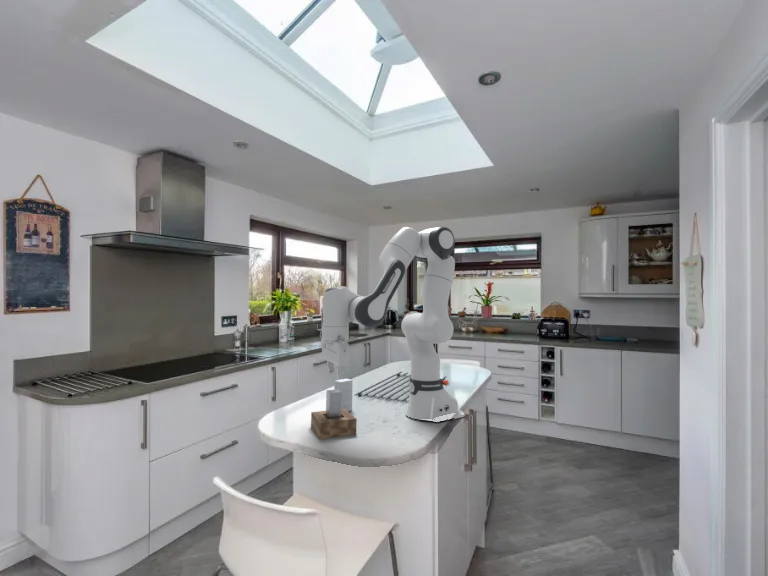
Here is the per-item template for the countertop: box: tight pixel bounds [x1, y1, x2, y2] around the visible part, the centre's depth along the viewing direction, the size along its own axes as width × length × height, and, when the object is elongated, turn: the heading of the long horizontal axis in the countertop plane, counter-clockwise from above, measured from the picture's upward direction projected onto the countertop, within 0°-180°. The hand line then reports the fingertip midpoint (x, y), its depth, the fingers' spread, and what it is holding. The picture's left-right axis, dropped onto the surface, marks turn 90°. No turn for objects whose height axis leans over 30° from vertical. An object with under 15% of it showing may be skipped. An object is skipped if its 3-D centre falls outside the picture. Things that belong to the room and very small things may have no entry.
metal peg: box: [325, 389, 342, 419], centre depth 125 cm, size 4×4×12 cm
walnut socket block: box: [310, 409, 358, 440], centre depth 125 cm, size 12×12×5 cm
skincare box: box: [333, 378, 353, 412], centre depth 147 cm, size 6×4×12 cm
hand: (335, 375), depth 125 cm, fingers open, 8 cm apart
